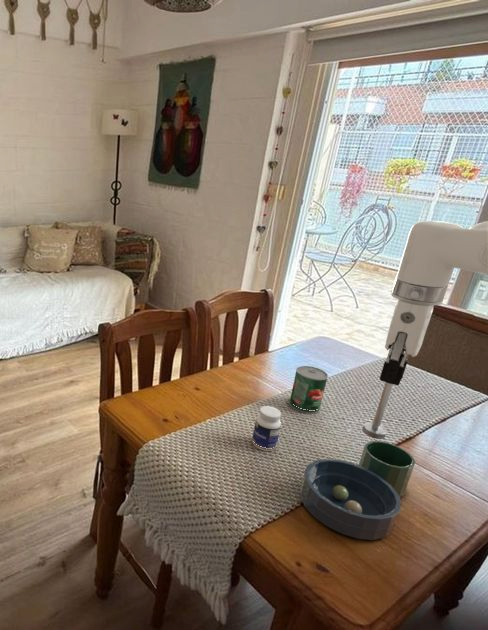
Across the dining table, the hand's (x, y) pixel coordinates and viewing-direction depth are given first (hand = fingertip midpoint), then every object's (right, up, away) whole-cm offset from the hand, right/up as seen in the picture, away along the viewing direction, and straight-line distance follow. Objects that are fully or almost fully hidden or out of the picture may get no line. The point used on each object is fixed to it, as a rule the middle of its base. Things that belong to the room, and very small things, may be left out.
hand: (390, 379), depth 86 cm
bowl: (-6, -28, +5) cm, 29 cm away
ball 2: (-6, -26, +2) cm, 27 cm away
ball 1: (-6, -25, +6) cm, 26 cm away
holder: (+6, -25, +12) cm, 28 cm away
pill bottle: (-14, -20, +24) cm, 35 cm away
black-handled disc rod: (0, -12, +5) cm, 13 cm away
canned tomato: (+5, -14, +41) cm, 43 cm away
